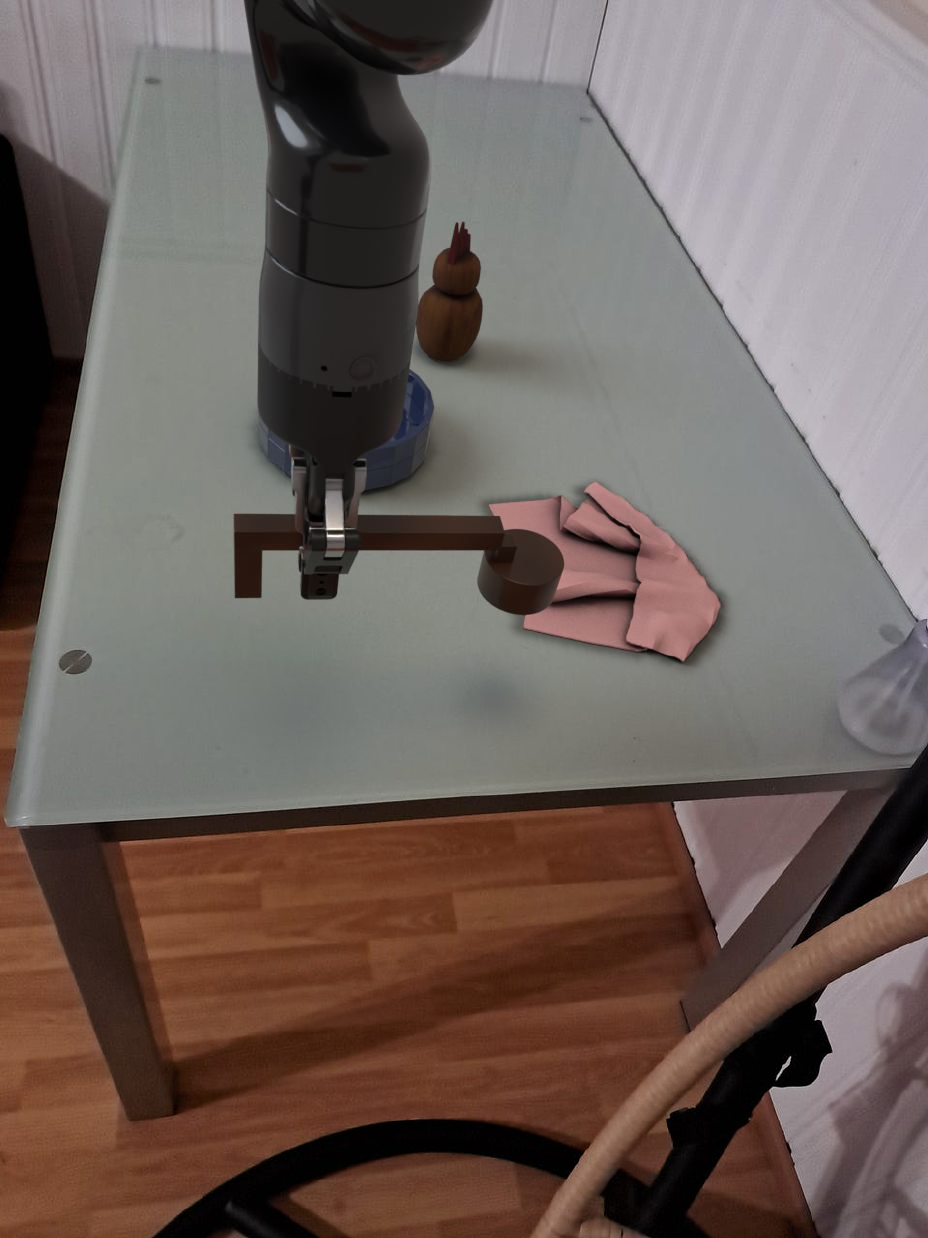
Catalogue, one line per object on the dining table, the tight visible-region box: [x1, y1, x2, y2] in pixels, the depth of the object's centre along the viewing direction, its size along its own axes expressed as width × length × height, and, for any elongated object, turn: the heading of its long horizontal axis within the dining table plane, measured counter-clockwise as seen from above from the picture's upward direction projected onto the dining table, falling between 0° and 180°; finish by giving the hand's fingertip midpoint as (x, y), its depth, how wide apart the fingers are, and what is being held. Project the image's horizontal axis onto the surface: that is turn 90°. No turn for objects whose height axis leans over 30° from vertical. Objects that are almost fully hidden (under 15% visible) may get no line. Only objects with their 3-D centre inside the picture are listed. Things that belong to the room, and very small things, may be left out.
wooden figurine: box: [415, 221, 484, 363], centre depth 96 cm, size 7×6×15 cm
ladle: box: [233, 513, 564, 616], centre depth 59 cm, size 21×5×6 cm, turn 100°
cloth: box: [488, 481, 722, 663], centre depth 82 cm, size 20×22×2 cm
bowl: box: [257, 368, 435, 491], centre depth 87 cm, size 16×16×5 cm
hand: (317, 582), depth 59 cm, fingers closed on ladle, 1 cm apart
